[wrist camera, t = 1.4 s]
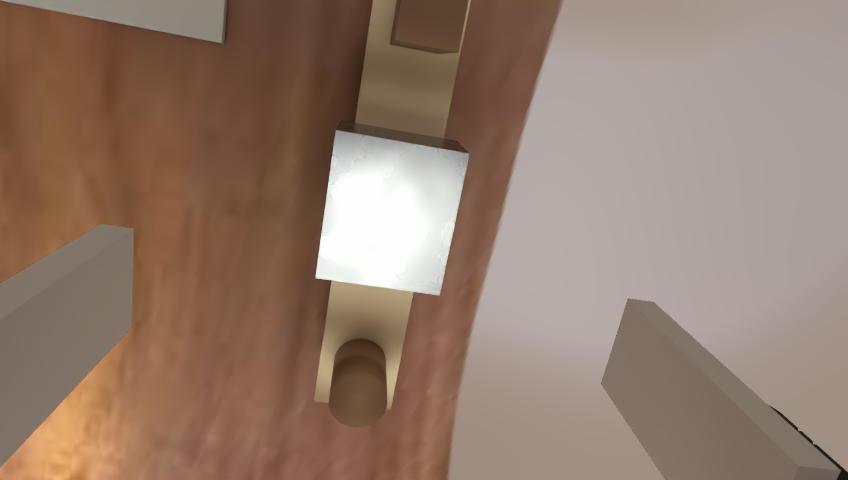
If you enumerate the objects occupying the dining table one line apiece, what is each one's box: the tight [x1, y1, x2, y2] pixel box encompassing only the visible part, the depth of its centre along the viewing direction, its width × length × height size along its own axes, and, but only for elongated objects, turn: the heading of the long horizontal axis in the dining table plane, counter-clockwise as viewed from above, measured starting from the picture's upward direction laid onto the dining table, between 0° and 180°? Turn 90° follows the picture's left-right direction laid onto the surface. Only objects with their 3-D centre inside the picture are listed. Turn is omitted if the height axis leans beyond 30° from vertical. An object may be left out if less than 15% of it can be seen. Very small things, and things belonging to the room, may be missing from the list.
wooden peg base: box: [314, 0, 471, 427], centre depth 29 cm, size 26×5×13 cm, turn 169°
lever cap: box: [316, 120, 469, 295], centre depth 27 cm, size 7×6×4 cm
